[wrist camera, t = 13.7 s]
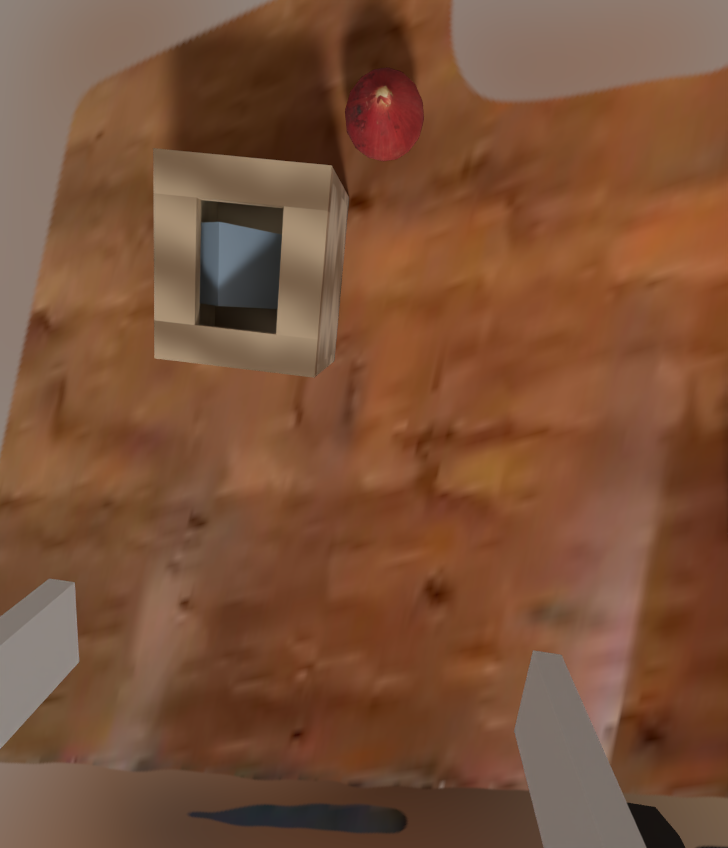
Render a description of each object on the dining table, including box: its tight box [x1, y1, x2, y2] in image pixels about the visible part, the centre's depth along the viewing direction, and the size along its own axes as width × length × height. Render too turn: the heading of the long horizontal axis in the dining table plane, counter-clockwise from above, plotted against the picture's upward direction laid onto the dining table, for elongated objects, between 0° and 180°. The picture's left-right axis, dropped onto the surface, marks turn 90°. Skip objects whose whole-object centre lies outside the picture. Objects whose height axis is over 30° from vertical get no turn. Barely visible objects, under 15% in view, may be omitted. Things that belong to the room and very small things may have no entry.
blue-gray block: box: [200, 222, 282, 309], centre depth 39 cm, size 6×4×6 cm
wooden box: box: [153, 148, 349, 377], centre depth 38 cm, size 14×12×10 cm
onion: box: [345, 68, 424, 161], centre depth 35 cm, size 6×6×8 cm
